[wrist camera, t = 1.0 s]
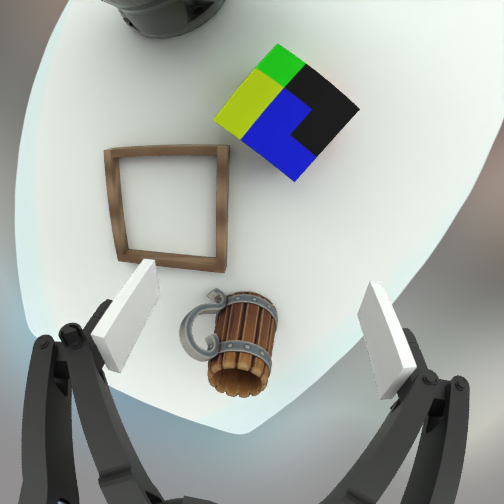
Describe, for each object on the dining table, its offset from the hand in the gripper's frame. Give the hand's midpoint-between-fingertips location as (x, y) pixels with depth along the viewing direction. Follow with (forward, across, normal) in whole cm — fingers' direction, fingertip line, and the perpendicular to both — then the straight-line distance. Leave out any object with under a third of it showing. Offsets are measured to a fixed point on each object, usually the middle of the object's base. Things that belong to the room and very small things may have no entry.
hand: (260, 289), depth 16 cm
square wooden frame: (+23, -15, -4) cm, 28 cm away
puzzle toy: (+24, +1, +10) cm, 26 cm away
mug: (+23, -4, -21) cm, 31 cm away
